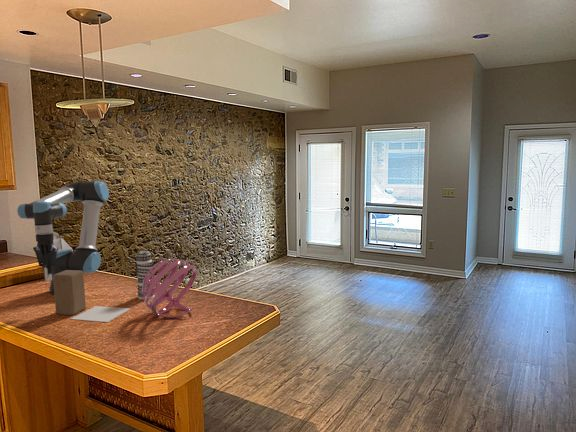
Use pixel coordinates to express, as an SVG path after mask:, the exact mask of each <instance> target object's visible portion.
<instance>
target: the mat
mask: <svg viewBox="0 0 576 432" xmlns="http://www.w3.org/2000/svg"><path fill="white" fill-rule="evenodd" d="M130 310H131V308H128V307H115V306H114V307H112V306H99V305H95V306H93V307H91V308H89V309H88V310H84V312H80V313H79V314H77V315H74V316H73V317H70V320H74V321H75V320H76V321H86V322H89V321H90V322H99V323H109V322H111V321H113V320H115V319H116V318H118V317H119V316H121V315H124V314H125V313H126V312H128V311H130Z"/></svg>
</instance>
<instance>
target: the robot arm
mask: <svg viewBox="0 0 576 432" xmlns="http://www.w3.org/2000/svg"><path fill="white" fill-rule="evenodd" d="M109 197H110V191H109V188H108V186H107V184H106V183H105V182H104V181H102V180H101V181H98V180H94V181H93V180H91V181H86V180H85V181H75V182H71V183H69V184H66V185H64V186H61V187H60V188H59V189H58V190H57V191H54V192H53V193H50V194H48V195H46V196H43V197H41V198H39V199H37V200H35V201H32V202H30V203H22V204H19V205H18V207H17V211H16V212H17V215H18V217H19V218H21V219H26V220H29V219H31V220H33V221H34V231H35V232H34V233H35V241H36V242H37V243H36V246H34V247H33V248H32V250H33V251H34V252H35V257H36V259H37V263H38V266H39V267H42V269H43V270H42V271H43V274H44V281H45V282H50V285H49V289H48V290H49V294H52V295H54V284H53V275H54V274H57V273H60V272H62V271H65V270H81V271H83V274H92V273H95V272H97V271H98V269H99V268H100V266H101V263H102V258H101V254H100V253H99V252H98V248H97V247H96V245H97V236H98V229H99V221H100V220H99V219H100V214H101V213H100V212H101V207H103V206H104V203H105V202H107V201H108V199H109ZM72 202H81V203H82V205H83V214H82V220H81V228H80V235H79V236H80V237H79V242H78V246H77V247H75V251H74V250H73V251H72V249H73V248H72V249H67V250H61V251H58V247H55V246H54V244H53V240H54V238H53V233H52V232H53V231H54V229H53V220H54V219H60V218H63V217H65V216H66V215H67V212H68V209H67V206H66V205H65V204H66V203H67V204H68V203H72Z"/></svg>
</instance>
